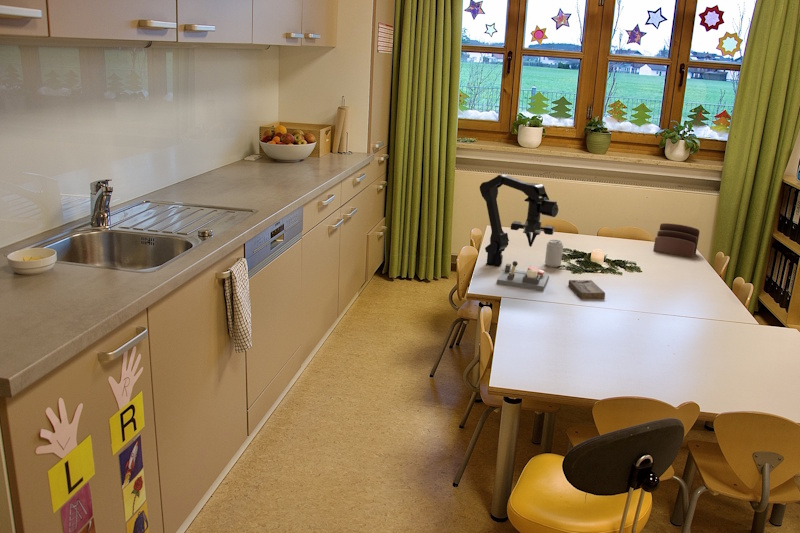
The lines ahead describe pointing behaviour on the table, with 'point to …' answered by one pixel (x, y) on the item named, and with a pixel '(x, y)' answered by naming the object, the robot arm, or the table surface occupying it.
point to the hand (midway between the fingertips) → (530, 246)
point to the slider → (508, 267)
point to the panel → (522, 280)
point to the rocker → (540, 272)
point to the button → (532, 273)
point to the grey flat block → (586, 289)
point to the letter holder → (677, 240)
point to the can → (554, 253)
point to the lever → (513, 268)
